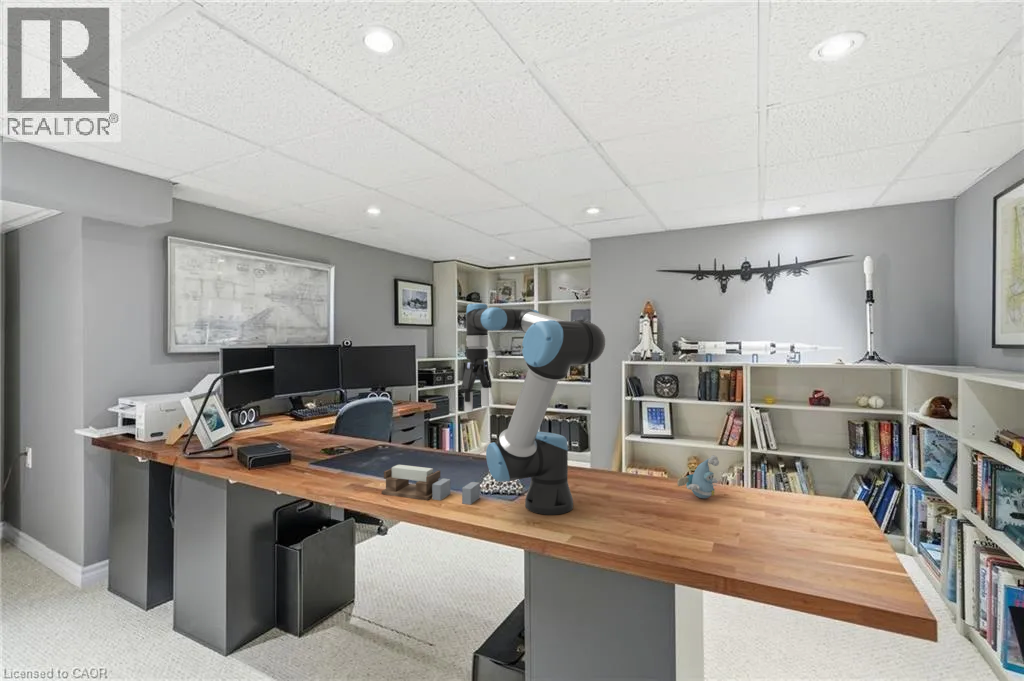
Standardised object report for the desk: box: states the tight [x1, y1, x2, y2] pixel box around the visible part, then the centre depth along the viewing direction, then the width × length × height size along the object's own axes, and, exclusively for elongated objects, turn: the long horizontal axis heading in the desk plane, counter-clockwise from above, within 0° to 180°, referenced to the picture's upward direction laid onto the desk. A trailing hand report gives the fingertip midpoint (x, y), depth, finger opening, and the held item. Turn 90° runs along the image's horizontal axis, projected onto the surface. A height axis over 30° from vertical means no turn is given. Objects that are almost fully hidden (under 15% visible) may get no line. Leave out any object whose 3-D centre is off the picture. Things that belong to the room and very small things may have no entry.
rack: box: [381, 467, 441, 501], centre depth 162 cm, size 18×10×7 cm, turn 69°
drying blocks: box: [431, 478, 481, 506], centre depth 156 cm, size 14×7×5 cm, turn 69°
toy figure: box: [676, 455, 720, 499], centre depth 156 cm, size 17×10×15 cm, turn 129°
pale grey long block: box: [391, 464, 434, 482], centre depth 162 cm, size 14×4×4 cm, turn 69°
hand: (477, 408), depth 164 cm, fingers open, 13 cm apart
